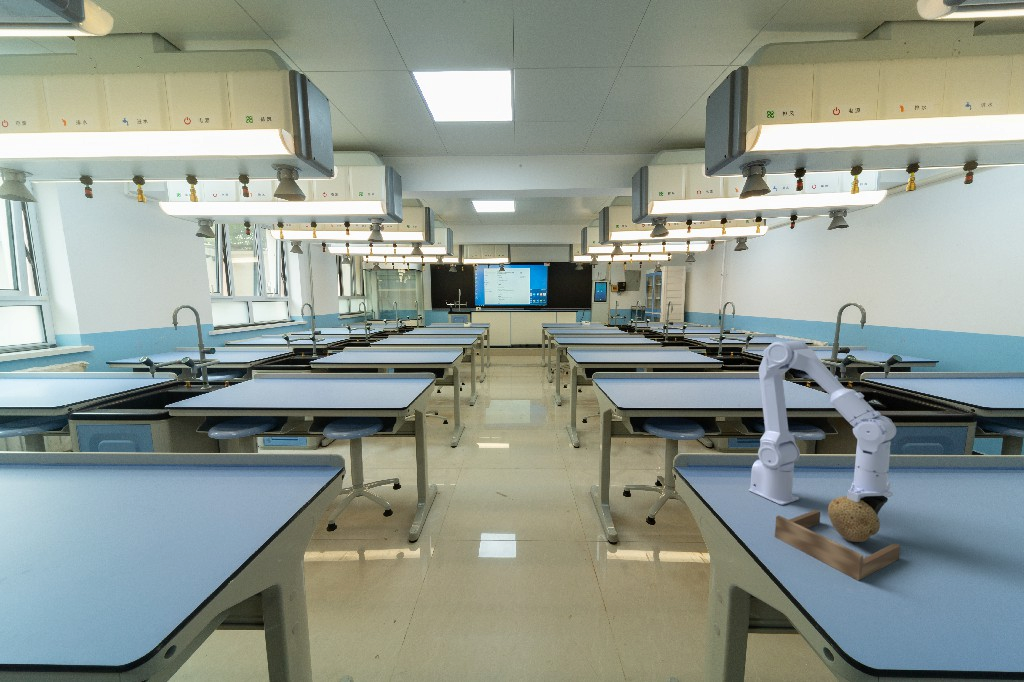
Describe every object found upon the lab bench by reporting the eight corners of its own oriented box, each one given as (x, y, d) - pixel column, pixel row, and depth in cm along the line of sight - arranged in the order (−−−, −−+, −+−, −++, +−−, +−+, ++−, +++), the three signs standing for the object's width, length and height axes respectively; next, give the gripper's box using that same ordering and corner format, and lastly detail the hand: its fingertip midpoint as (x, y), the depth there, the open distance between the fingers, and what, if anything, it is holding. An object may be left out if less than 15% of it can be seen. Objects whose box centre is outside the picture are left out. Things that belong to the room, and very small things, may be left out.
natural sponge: (848, 526, 95) (852, 487, 94) (889, 549, 86) (893, 506, 85) (816, 530, 94) (819, 490, 93) (854, 553, 85) (858, 510, 84)
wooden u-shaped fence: (774, 536, 91) (776, 516, 91) (815, 521, 98) (816, 502, 97) (858, 580, 77) (860, 556, 76) (898, 558, 83) (901, 536, 83)
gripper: (876, 480, 84) (871, 540, 86) (909, 469, 90) (903, 525, 92) (838, 468, 91) (833, 524, 92) (871, 458, 97) (866, 510, 98)
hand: (866, 523), depth 92 cm, fingers closed
